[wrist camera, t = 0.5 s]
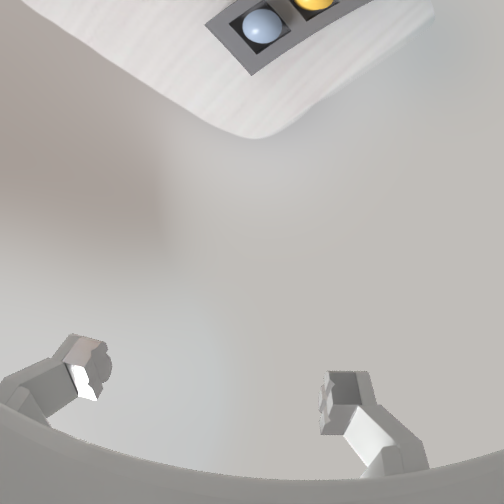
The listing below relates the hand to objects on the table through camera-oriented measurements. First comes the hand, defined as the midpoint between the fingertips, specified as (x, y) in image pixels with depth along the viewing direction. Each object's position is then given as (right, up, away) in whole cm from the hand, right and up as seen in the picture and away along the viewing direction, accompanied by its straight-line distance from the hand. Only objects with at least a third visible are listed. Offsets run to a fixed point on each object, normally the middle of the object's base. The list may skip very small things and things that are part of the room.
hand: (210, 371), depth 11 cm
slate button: (+3, +34, +24) cm, 42 cm away
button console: (+9, +43, +26) cm, 52 cm away
